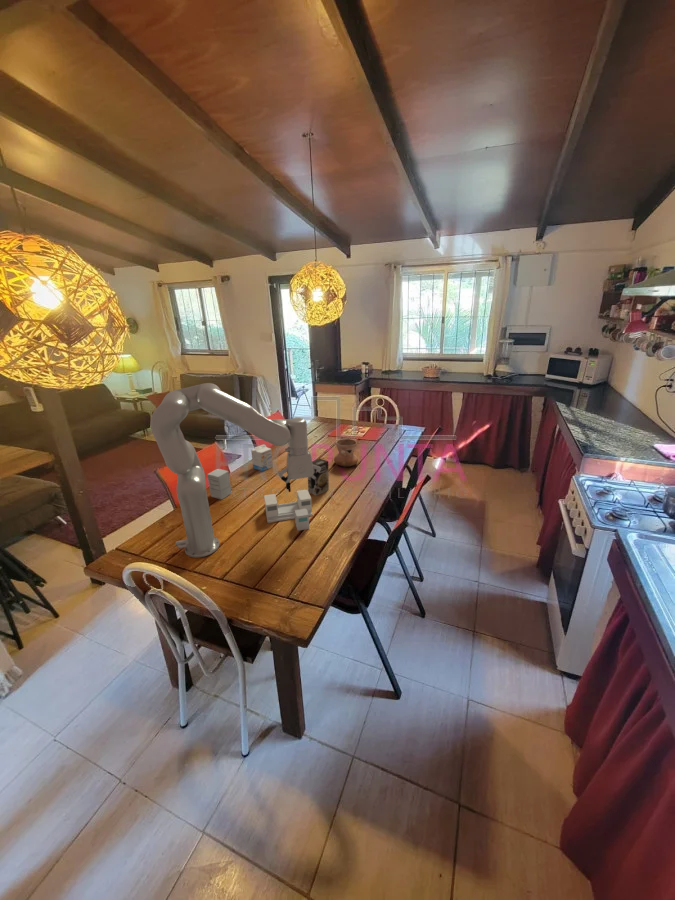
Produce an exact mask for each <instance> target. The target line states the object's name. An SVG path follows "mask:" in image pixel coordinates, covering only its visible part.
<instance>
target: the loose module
mask: <svg viewBox="0 0 675 900" xmlns="http://www.w3.org/2000/svg"><path fill="white" fill-rule="evenodd" d="M294 520H295V527H296V530H297V531H298V532H299V531H304V530H310V516H309V514H308V512H307V509H300V510H295V519H294Z"/></svg>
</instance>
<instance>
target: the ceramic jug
mask: <svg viewBox="0 0 675 900" xmlns="http://www.w3.org/2000/svg"><path fill="white" fill-rule="evenodd" d="M335 444H336V449H337V451H338V453H337V454H336V455H334V457H333V461H334V463H335V464H336V465H338V466H340V467H353V466H355V465H357V463H358V462H359V458H358V456H357V455H356V454H354V452H355V450H356V448H357V444H358V442H357V441H356V440H355V439H351V438H341V439H338V440H336V441H335Z"/></svg>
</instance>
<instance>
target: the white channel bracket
mask: <svg viewBox="0 0 675 900" xmlns="http://www.w3.org/2000/svg"><path fill="white" fill-rule="evenodd" d="M310 494H311V493H310V492H308V488H307V489H300V490H296V498H297V499H296V501H294V502H285V503H280V504H278V501H277V496H276V493H270V494H265V495H263V498H264V499H263V501H264V511H265V515H266V521H267V523H268V524H269V523H275V522H281V521H289V520H295V510H300V509H307V512H308V514H309V517H312V516H313V511H312V510H313V508H312V506H313V505H312V496H311V495H310Z"/></svg>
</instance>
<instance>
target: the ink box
mask: <svg viewBox="0 0 675 900" xmlns="http://www.w3.org/2000/svg"><path fill="white" fill-rule="evenodd" d="M251 460H252V468H253V469H255V470H257V471H259V472H264V471H267V470H268V469H271V468H273V467H274V464H273V463H274V462H273V451H272V448H270V447H267V445H266V444H265V443H264V444H261V445H258V446H255V447H254V448H253V449H251Z"/></svg>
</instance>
